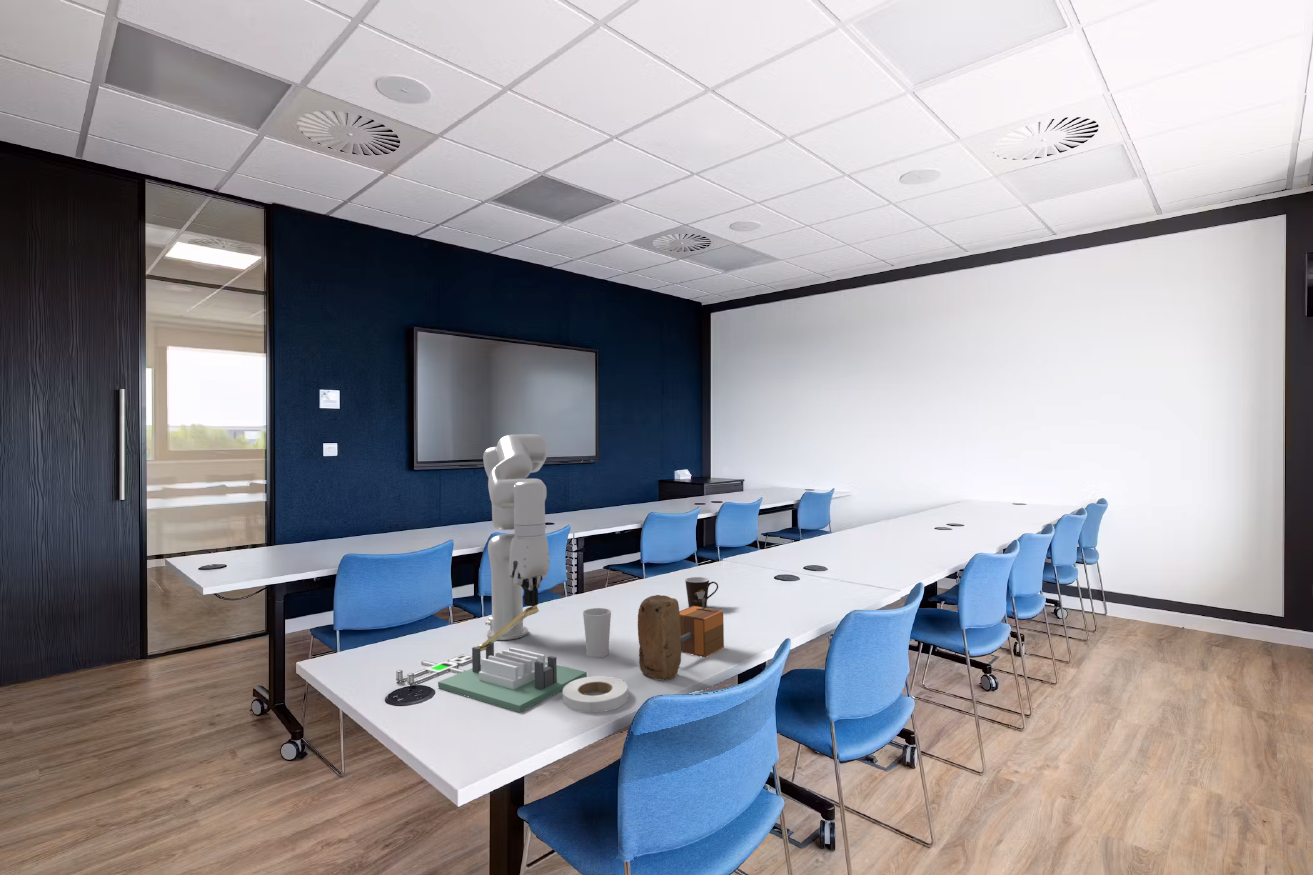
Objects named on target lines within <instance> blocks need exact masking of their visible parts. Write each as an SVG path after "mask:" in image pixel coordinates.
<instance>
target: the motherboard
mask: <svg viewBox="0 0 1313 875" xmlns="http://www.w3.org/2000/svg"><path fill="white" fill-rule="evenodd" d="M501 652H502V653H501ZM501 652H496V653H495V642H494V643H493V644H491V645H490V647H489V648H488V649H486V650H485V657H483V658H481V657H482V656H481V652H480V648H479V647H477V646H473V647H471V656H472V662H471V663H472V664H471V667H472V668H469V669H467V670H466V669H465V670H466V671H464V672H461V673H459V674H458V673H455V674H454V675H452V676H449V677H447V678H444V679H442V680H439V681H437V687H439V689H440V688H442V689H441V690H444V689H445V690H444V691H447V690H448V691H449V692H450V691H452V692H451V693H454V694H457V693H459V694H458V695H460V694H461V696H464V695H465V696H464V697H467V696H469V697H468V698H470V697H471V699H474V698H475V699H474V700H478V701H480V700H481V701H480V702H484V703H488V704H490V705H494V706H497V707H501V708H504V709H507V710H511V711H514V712H517V713H520V712H522V711H525V710H527V709H528V708H530V707H532V706H534V705H536V704H539V703H540V702H542V701H545V700H546V699H549V698H550V697H552V696H554V695H556V694H558V693H561V692H563V688H564V687H565V686H566V685H567V684H568V683H570V682H572V681H574V680H577V679H580V678H584V677H588V673H587V671H584V670H579V669H576V668H572V667H567V666H564V665H559V664H557V656H553V655H549V656H547V662H546V655H545V654H543V653H542V654H541V653H538V652H534V651H529V650H525V649H520V648H516V647H509V648H508V650H507V649H504V650H502V651H501ZM448 691H447V692H448Z"/></svg>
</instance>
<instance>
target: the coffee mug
mask: <svg viewBox="0 0 1313 875" xmlns="http://www.w3.org/2000/svg"><path fill="white" fill-rule="evenodd" d="M684 582H685V588H686V596H687V605H688V608H689V607H691V606H698V607H703V602H702V598H705V602H704V608H708V606H707V604H708V600H709V599H710V598H711V597H712V596H714V595H715V594H716V593H717V591H718V590H719V584H718V583H717V582H716V581H710V579H709V578H707V577H705V576H704V577H701V576H695V577H693V576H692V577H691V576H690V577H687V578H685V579H684ZM712 584H715V585H716V588H715V590H714V591H713V592H712V593H710V594H708V593H709V588H710V585H712Z"/></svg>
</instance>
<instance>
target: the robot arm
mask: <svg viewBox="0 0 1313 875" xmlns="http://www.w3.org/2000/svg"><path fill="white" fill-rule="evenodd" d="M496 443H497V445H496V446H492V447H488V448H487V449H486V450H484V452H483V457H482V458H483V460H482V461H483V466H484V470H485V473H486V476H487V478H488V482H487V484H488V485H487V487H488V493H489V499H490V501H491V502H490V503H491V515H492V516H491V517H492V524H493V527H494V528H495V529H497V530H500V531H509V530H510V531H511V530H513V533H507V534H505V533H504V534H497V535H496V536H495V535H494V536H493V537H491V538H490V539H489V541H488V545H487V554H488V559H489V565H490V573H491V574H490V576H491V579H490V580H491V617H489V618H488V620H486V621H485V625H486V626H489V628H490V629H489V630H488V631H487V634H486V635H487V638H488V639H489V638H491V637H492V636H493V635H494V634H496V633H497V632H498V631H499V630H501V629H502V628H503V627H504V626H506V625H507V624H508V623H509V622H511V621H512V620H513V619H514V618H516V617H517V616H518V615H520V614H521V613H522V612H523V611H524V609H523V608H524V606H523V605H525V606H528V607H532V606H535V605H536V606H538V605H539V589H540V587H541V582H542V580H544V579H546V578H547V577H548V572H549V570H550V550H549V542H548V538H547V537H548V536H547V534H546V529H547V525H546V506H545V505H546V503H545V502H546V501H547V500H546V499H547V496H548V495H547V492H548V491H547V486H546V485H545V483H544V482H543V480H541V479H539V478H528V477H529V475H530V474H531V473H537V472H539V471H540V469H542V467H543V465H544V464H545V461H546V460H547V457H548V444H547V441H546V439H545V438H544V437H543V436H542V435H540V434H537V433H536V434H533V433H530V434H529V433H527V434H526V433H525V434H507V435H504V436H502V437H501V438H500V439H499V440H498V442H496ZM523 599H524V600H523ZM528 633H529V628H528V627H527V626H525V625H524V619H523V620H522V621H521V622H519V623H518V624H517V625H515V626H514V627H513V628H512V629H510V630H509V631H508V632H507V633H505V634H504V635H503V636H501V637H500V638H499V639H498V640H497V641H508V640H510V641H511V640H515V639H516V640H517V639H520V638H523V637H525V636H527V635H528Z"/></svg>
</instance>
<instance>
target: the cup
mask: <svg viewBox="0 0 1313 875" xmlns="http://www.w3.org/2000/svg"><path fill="white" fill-rule="evenodd" d="M582 615H583V616H582V617H583V626H584V633H585V634H584V637H585V647H586V656H587V657H589V658H596V659H597V658H603V657H606V656H609V655H610V651H609V649H610V636H611V634H610V633H611V618H612V610H611V609H609V608H603V607H595V608H589V609H585V610H583V612H582Z"/></svg>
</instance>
